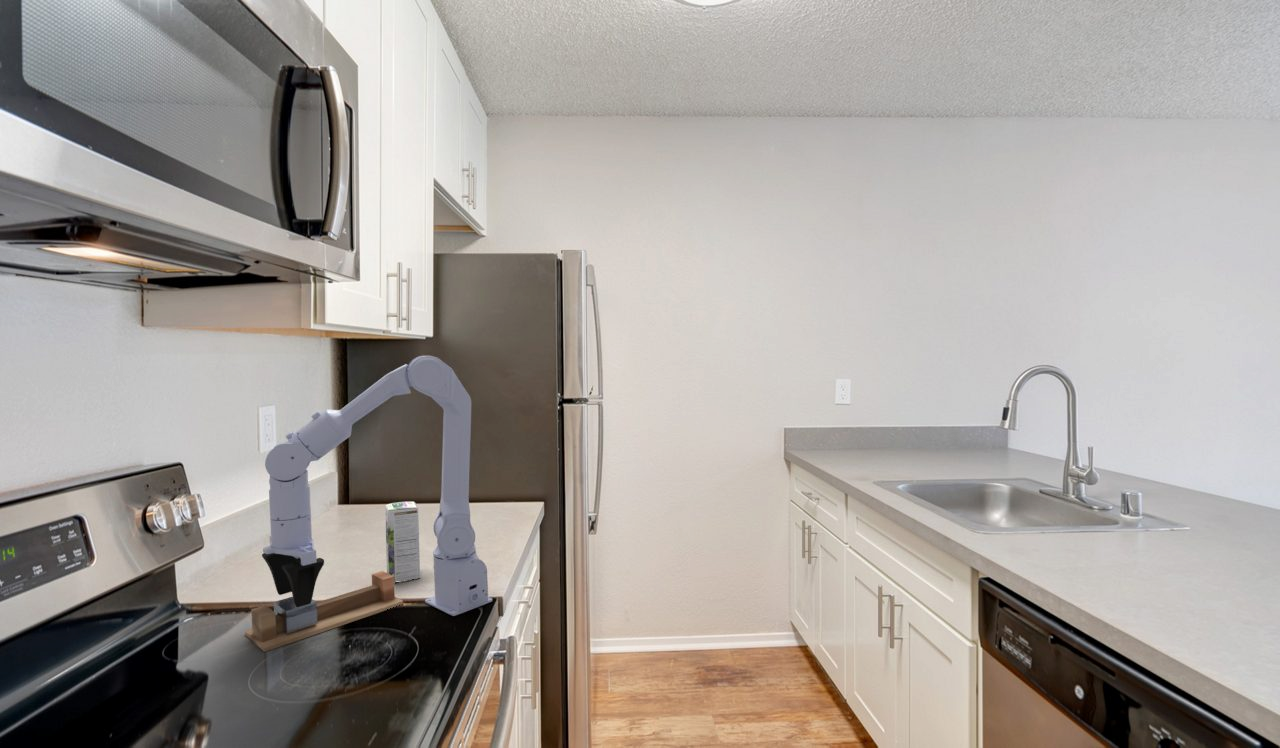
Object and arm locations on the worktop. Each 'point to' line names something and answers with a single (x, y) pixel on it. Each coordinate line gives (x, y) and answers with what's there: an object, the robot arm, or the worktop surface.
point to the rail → (325, 613)
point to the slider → (296, 614)
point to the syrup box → (402, 541)
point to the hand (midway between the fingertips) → (294, 598)
